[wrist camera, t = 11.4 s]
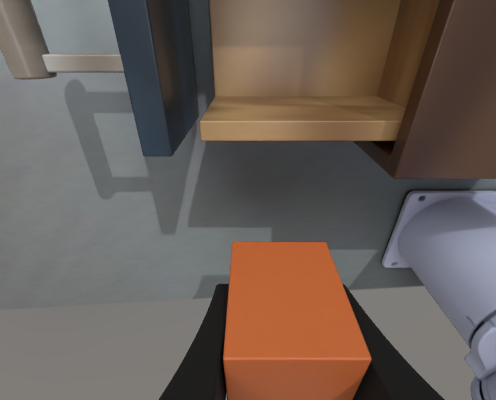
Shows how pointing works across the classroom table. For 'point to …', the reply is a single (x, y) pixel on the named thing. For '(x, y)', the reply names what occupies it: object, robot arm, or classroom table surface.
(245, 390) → the block
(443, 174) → the cabinet
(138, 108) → the drawer
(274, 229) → the classroom table surface
